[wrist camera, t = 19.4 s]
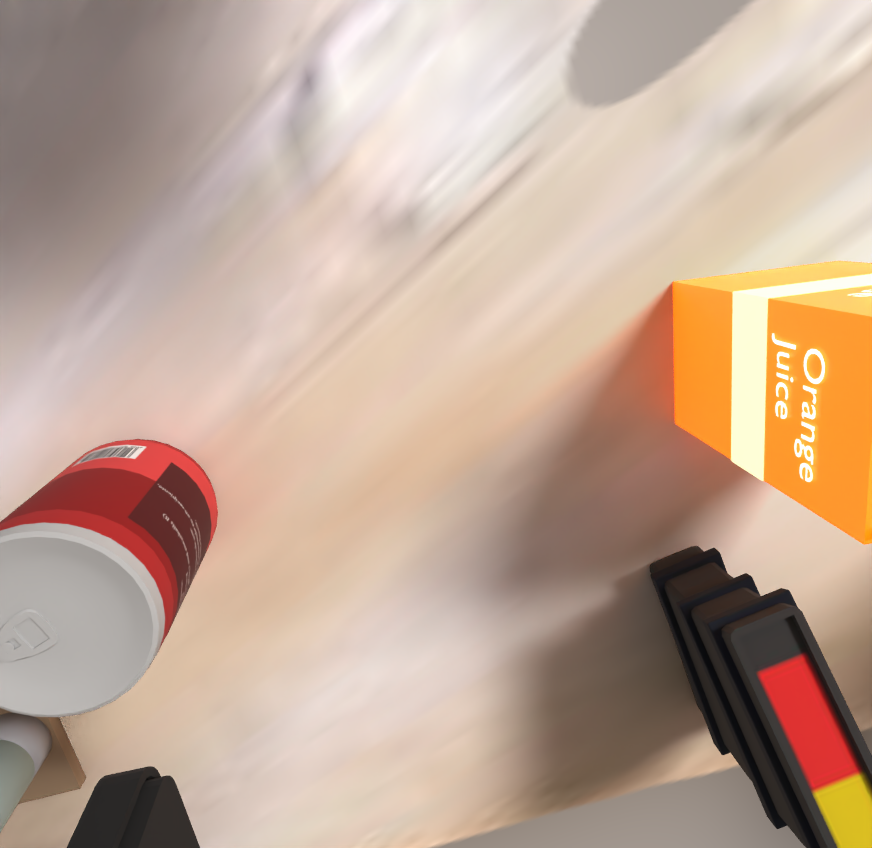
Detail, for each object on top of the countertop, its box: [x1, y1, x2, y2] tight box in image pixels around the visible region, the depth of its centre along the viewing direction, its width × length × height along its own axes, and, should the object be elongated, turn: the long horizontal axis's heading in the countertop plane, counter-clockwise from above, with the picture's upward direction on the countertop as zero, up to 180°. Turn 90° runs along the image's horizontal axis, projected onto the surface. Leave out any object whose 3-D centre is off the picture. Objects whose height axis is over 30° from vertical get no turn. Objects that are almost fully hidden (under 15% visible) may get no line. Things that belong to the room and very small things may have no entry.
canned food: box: [0, 439, 218, 717], centre depth 30 cm, size 8×8×11 cm
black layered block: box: [650, 546, 872, 848], centre depth 35 cm, size 4×13×15 cm, turn 23°
